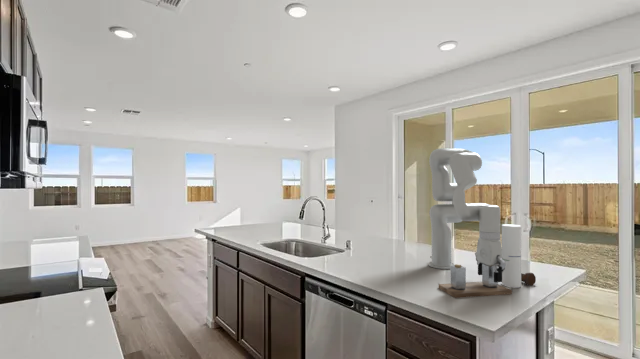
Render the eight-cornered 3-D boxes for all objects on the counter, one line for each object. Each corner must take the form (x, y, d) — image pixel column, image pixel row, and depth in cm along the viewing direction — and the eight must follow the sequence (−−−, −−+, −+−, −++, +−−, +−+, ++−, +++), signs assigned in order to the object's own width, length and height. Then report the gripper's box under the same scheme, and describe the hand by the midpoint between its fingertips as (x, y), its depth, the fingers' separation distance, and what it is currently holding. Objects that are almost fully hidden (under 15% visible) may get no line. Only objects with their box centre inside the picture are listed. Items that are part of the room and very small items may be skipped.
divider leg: (482, 283, 137) (482, 262, 137) (491, 283, 138) (491, 262, 138) (488, 286, 133) (488, 264, 133) (497, 286, 134) (497, 264, 134)
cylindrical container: (521, 288, 137) (520, 227, 137) (501, 285, 141) (500, 225, 140) (521, 284, 143) (521, 225, 143) (502, 281, 147) (502, 223, 147)
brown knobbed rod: (502, 280, 155) (533, 288, 141) (494, 275, 154) (525, 283, 140) (506, 268, 156) (537, 275, 142) (499, 263, 155) (530, 270, 141)
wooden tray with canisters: (438, 287, 138) (438, 262, 138) (491, 284, 142) (491, 259, 142) (455, 298, 126) (455, 269, 126) (511, 294, 130) (511, 266, 130)
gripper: (468, 232, 143) (468, 272, 144) (496, 240, 126) (495, 285, 127) (484, 232, 145) (483, 271, 145) (513, 239, 128) (513, 284, 128)
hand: (489, 278), depth 136 cm, fingers open, 9 cm apart
